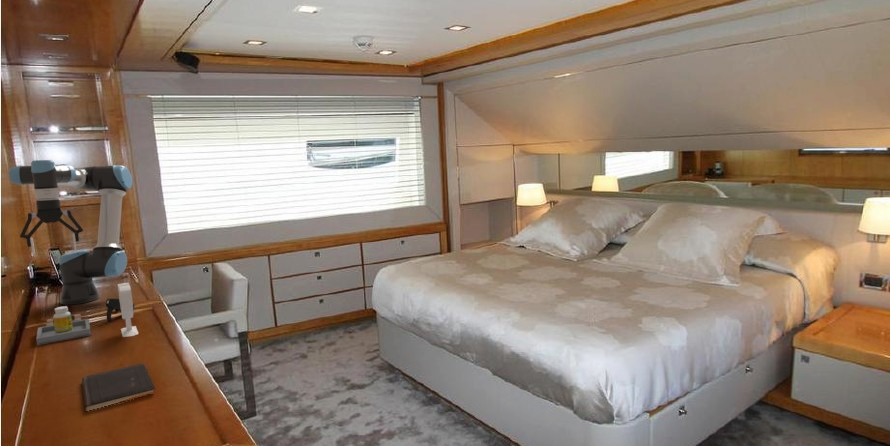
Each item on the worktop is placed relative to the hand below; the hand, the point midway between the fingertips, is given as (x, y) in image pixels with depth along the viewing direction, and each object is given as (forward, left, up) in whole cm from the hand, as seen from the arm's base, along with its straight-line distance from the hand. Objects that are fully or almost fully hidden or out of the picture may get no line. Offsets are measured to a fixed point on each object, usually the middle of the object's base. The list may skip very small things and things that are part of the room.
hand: (55, 252), depth 213 cm
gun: (+8, +19, -29) cm, 36 cm away
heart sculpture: (+34, +20, -29) cm, 49 cm away
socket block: (+7, 0, -29) cm, 30 cm away
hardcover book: (+91, +12, -29) cm, 96 cm away
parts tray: (+21, 0, -29) cm, 35 cm away
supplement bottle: (+21, 0, -28) cm, 35 cm away
